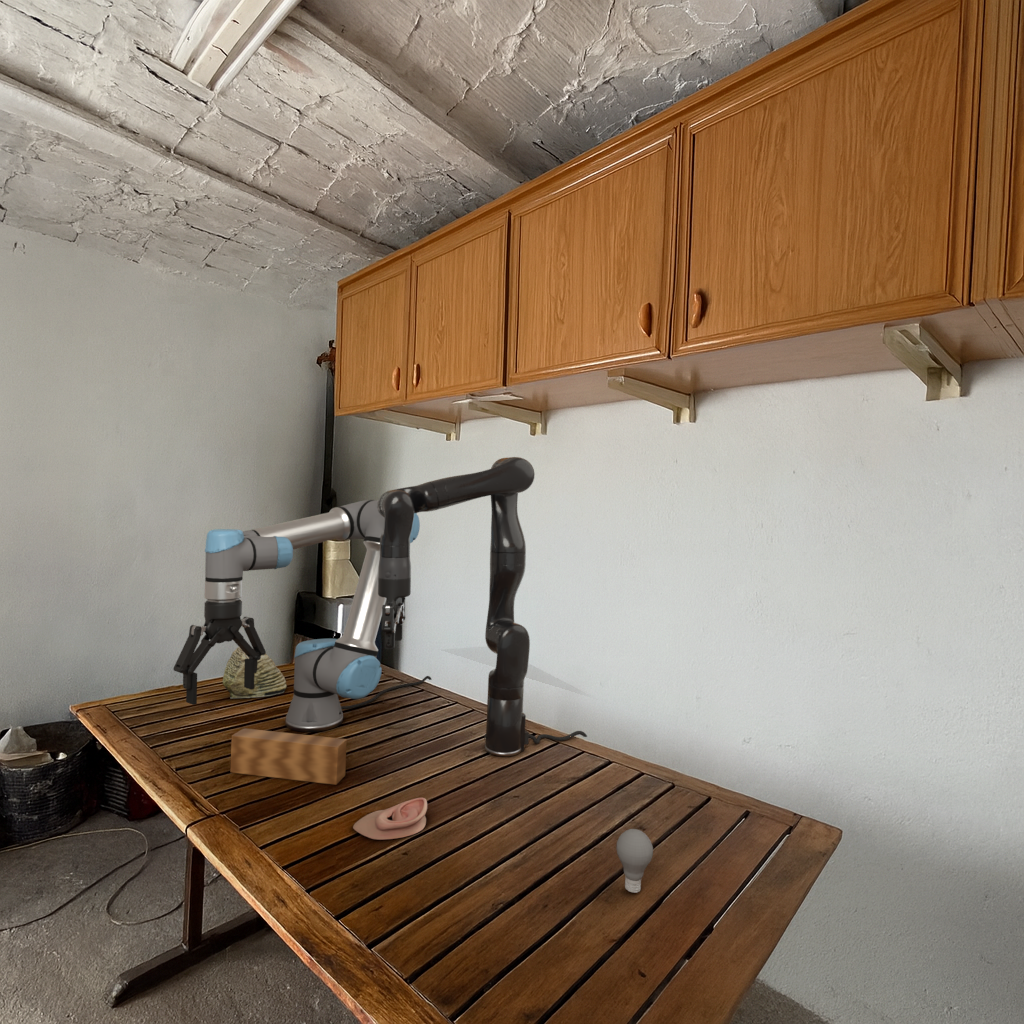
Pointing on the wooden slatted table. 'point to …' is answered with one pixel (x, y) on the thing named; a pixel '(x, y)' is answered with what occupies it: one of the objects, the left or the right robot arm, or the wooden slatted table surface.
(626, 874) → the light bulb
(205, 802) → the wooden slatted table surface
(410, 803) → the anatomical model
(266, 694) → the fossil
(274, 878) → the wooden slatted table surface
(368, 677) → the left robot arm
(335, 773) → the bar
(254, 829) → the wooden slatted table surface
